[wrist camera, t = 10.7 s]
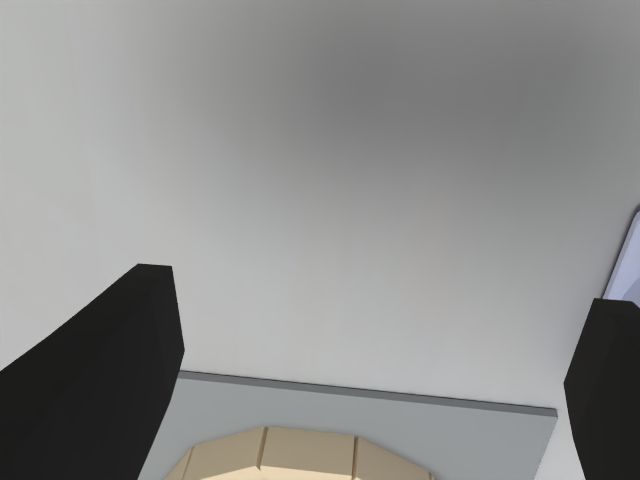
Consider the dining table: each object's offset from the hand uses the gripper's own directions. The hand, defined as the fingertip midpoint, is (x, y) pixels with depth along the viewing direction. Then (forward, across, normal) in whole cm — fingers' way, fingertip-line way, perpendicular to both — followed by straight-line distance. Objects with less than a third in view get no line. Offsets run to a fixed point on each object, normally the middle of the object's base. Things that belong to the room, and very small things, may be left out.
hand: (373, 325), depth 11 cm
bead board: (+9, +2, +22) cm, 24 cm away
